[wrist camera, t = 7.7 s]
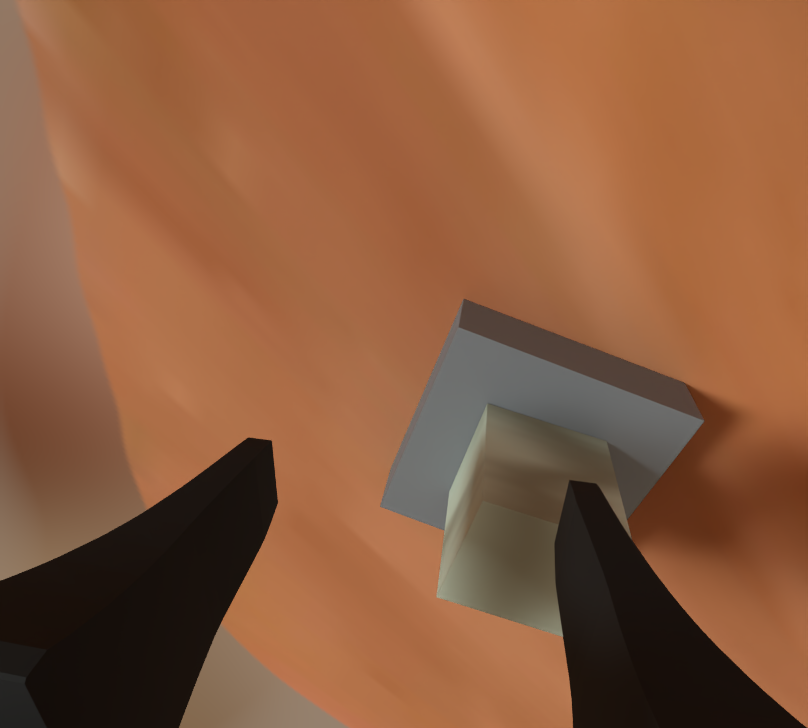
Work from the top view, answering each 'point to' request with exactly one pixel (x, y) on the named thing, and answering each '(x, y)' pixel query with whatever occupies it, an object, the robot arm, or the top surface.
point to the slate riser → (535, 408)
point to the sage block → (516, 515)
